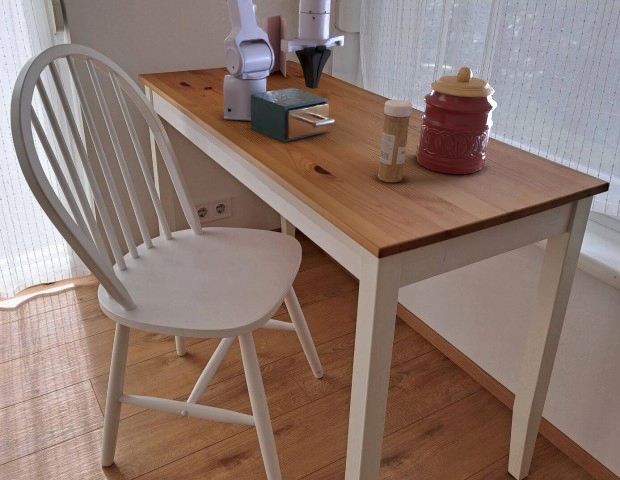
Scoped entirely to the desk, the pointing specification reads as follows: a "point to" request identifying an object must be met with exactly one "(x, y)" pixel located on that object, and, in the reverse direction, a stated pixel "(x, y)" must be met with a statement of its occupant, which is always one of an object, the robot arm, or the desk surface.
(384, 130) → the sprinkles bottle
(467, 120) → the kitchen canister
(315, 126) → the drawer
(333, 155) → the desk surface
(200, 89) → the desk surface
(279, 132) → the teal box
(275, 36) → the greeting card
